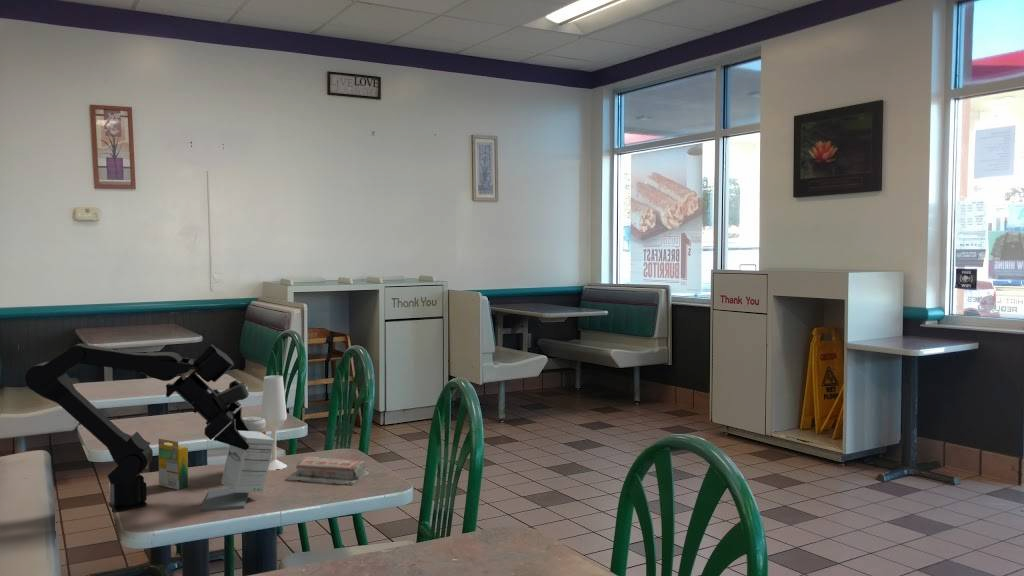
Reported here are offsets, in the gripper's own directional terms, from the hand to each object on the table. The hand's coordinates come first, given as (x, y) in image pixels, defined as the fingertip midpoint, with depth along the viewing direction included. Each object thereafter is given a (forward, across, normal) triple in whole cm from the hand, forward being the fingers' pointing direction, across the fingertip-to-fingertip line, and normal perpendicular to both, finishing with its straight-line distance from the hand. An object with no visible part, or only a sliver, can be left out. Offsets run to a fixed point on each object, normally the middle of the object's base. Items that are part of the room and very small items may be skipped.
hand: (249, 443), depth 183 cm
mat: (+6, 0, +12) cm, 14 cm away
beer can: (+9, +18, +10) cm, 22 cm away
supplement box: (+6, 0, +9) cm, 11 cm away
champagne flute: (+12, +26, +6) cm, 30 cm away
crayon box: (-4, +13, +23) cm, 27 cm away
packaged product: (+22, +14, -4) cm, 26 cm away
